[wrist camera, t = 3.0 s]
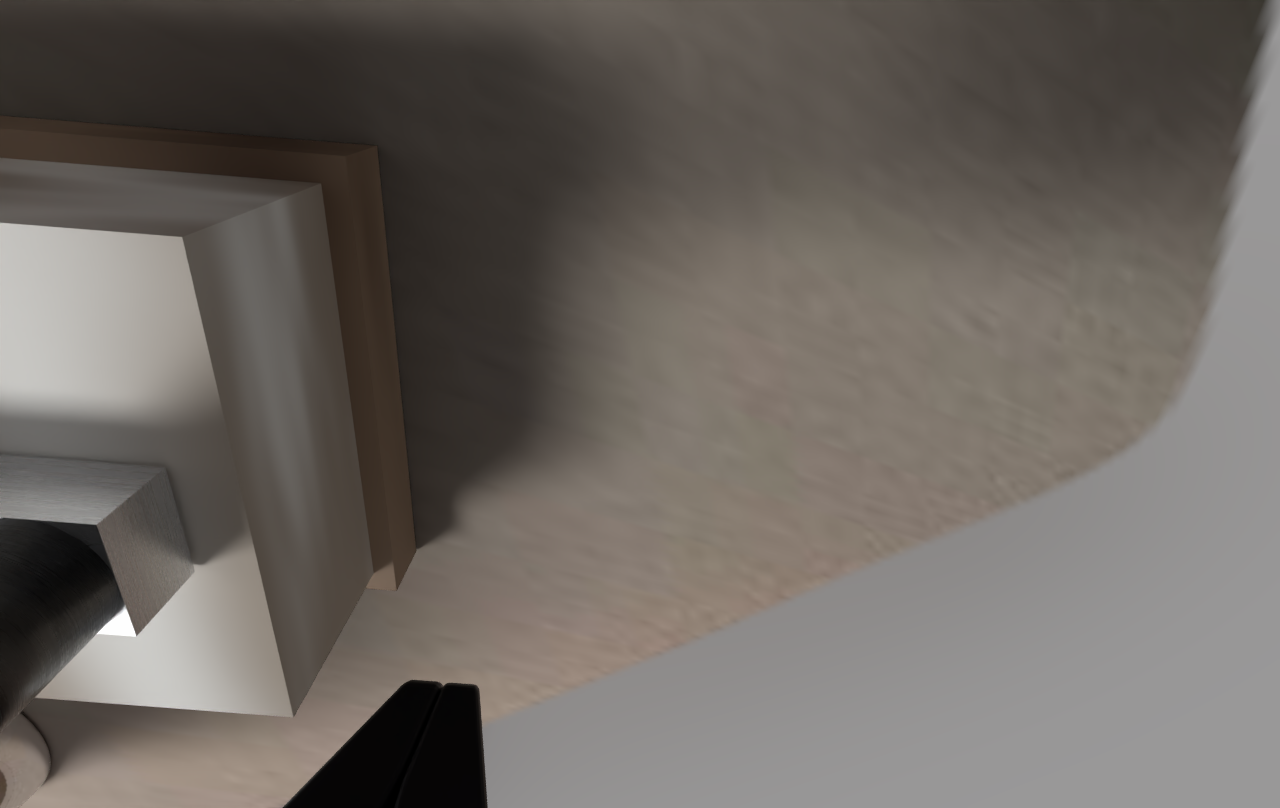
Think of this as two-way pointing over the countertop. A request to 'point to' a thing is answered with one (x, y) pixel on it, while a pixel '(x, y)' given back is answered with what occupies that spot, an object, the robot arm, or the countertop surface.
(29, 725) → the beer glass
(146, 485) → the bolt
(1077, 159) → the countertop surface
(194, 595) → the door model
